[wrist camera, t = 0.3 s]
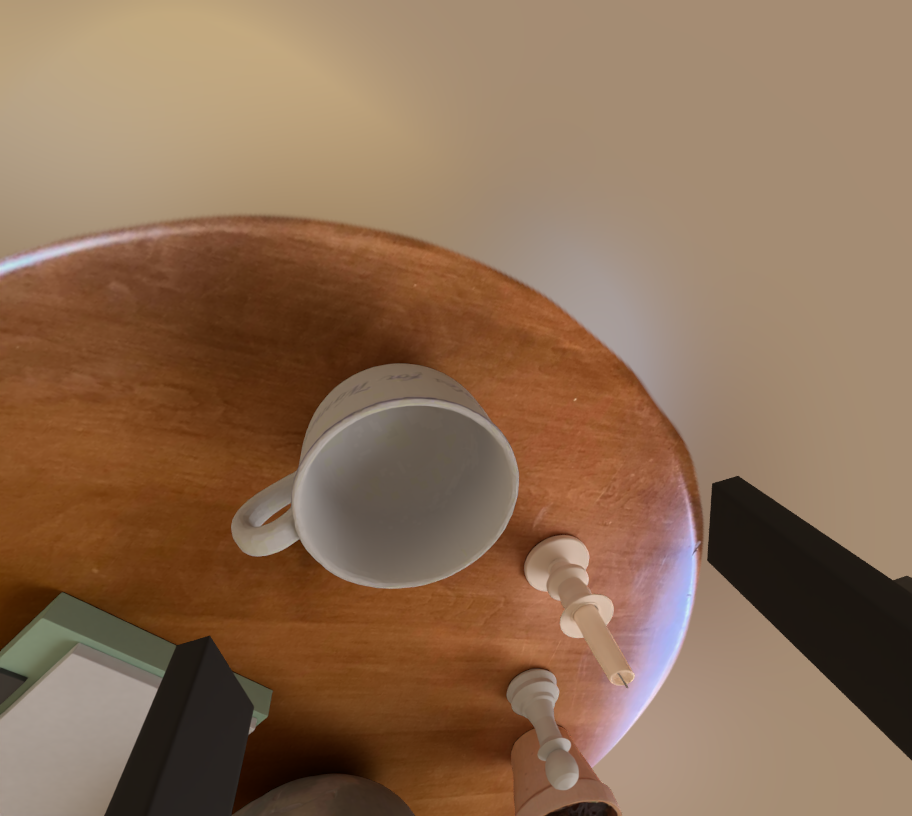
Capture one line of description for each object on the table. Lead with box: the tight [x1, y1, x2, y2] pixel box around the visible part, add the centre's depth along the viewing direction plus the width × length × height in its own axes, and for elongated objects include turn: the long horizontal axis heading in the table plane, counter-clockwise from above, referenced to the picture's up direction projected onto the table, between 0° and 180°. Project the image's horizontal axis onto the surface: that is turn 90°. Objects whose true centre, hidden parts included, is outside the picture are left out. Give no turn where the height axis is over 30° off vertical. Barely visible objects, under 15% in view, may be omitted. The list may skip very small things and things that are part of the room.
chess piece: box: [507, 669, 579, 790], centre depth 37 cm, size 5×5×8 cm
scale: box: [0, 592, 272, 816], centre depth 30 cm, size 16×17×3 cm
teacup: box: [231, 363, 519, 589], centre depth 24 cm, size 14×11×8 cm
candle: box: [524, 535, 635, 688], centre depth 30 cm, size 5×5×10 cm
